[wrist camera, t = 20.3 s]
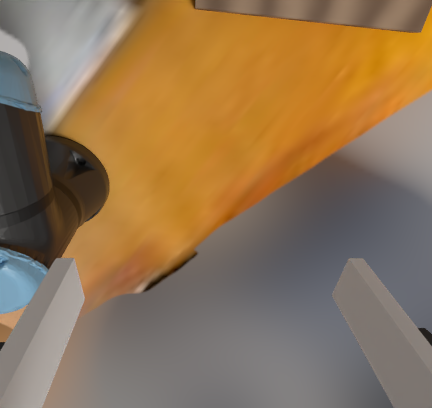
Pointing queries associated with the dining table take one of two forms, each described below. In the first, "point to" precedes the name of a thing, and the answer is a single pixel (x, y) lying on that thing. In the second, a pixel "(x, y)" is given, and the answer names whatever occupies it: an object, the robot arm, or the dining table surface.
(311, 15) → the walnut board
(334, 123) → the dining table surface
